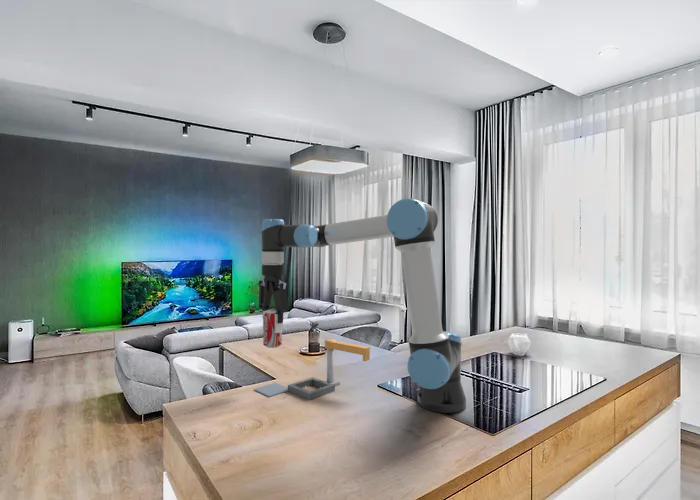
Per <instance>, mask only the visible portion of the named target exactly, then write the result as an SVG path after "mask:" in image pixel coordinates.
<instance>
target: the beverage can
mask: <svg viewBox="0 0 700 500" xmlns="http://www.w3.org/2000/svg"><path fill="white" fill-rule="evenodd" d="M275 313H276V310H271V311H266V312H265V315H264V317H263V316H262V330H263V335H262V336H263V337H262V338H263V342H262V343H263V345H264V347H265V348H268V349H269V348H271V349H274V348H275V349H276V348H279V347H280V346H281V345H282V343H283V342H282V341H283V340H282V339H283V338H282V337H283V332H280V333H275Z"/></svg>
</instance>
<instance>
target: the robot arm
mask: <svg viewBox="0 0 700 500" xmlns="http://www.w3.org/2000/svg"><path fill="white" fill-rule="evenodd" d="M438 220H439V217H438V213H437V211H436V210H435V208H434V207H433V206H432V205H430V204H429V203H426V202H423V201H422V200H420V199H417V198H413V197H412V198H402V199H398V200H397V201H396V202H394V203H393V205H392V206H391V207H390V208H389V210H388V212H387V214H385V215H384V214H383V215H379V216H373V217H365V218H359V219H353V220H347V221H340V222H333V223H327V224H322V225H321V224H320V225H312V224H305V223H303V224H285V221H284V219H281V218H280V219H279V218H265V219H263V220H262V222H261V223H262V224H261V231H260V232H261V263H262V265H261V275H262V276H264V277H263V279H261V280H258V286H259V291H258V292H259V293H258V309H260V310H261V311H262V318H263V317H264V315H265V312H266V311H272V310H271V307H270V306H271V302H272V297H273V301H274V305H275V311H276V313H275V333H280V332H282V333H283V327H284V324H283V323H284V313H287V312H288V311H289V309H288V285H289V284H288V282H284V281H283V279H282V276H284V275H285V265H284V263H285V248H302V249H304V248H305V249H306V248H323V247H328V246H333V245H340V244H341V245H342V244H348V243H357V242H362V241H363V242H365V241H371V240H377V239H378V240H379V239H386V238H393V242H394V248H395V249H396V250H397V251H399V252H400V254H401V261H402V267H403V275H404V281H405V288H406V296H407V303H408V309H409V317H410V318H409V319H410V324H411V330H412V332H411V333H412V334H411V336H410V337H409V338H408V347H409V353H410V356H409V357H408V359H407V360H408V361H407V366H406V367H407V372H408V375H409V377H410V378H411V380H412V381H413V382H414V383H415V384H417V386H419V387H420V388H419V390H418V392H417V404H418V406H420V407H422V409H425V410H427V411H430V412H434V413H439V414H440V413H442V414H453V413H459V412H462V411H464V410H466V408H467V398H466V397H467V396H466V395H465V394H466V393H465V391H464V387H463V385H462V381H461V379H462V378H461V377H462V376H461V375H462V374H461V372H462V371H461V369H462V336H461V335H460V333H459V334H458V333H456V332H451V331H444V330H443V324H442V318H441V311H440V310H441V309H440V304H439V303H440V302H439V296H438V290H437V284H436V279H435V270H434V265H433V257H432V249H431V248H432V247H433V246H434V244H435V243H436V240H435V233H434V232H435V231H436V229H437V227H438V222H439V221H438Z"/></svg>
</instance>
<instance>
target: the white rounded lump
mask: <svg viewBox="0 0 700 500" xmlns="http://www.w3.org/2000/svg"><path fill="white" fill-rule="evenodd" d="M507 344H508V346H509V348H510V350H511V351H512V353H513V355H514V356H521V357H522V356H523V357H524V356H525V354H526V351H528V350H529V348H530V346H531V340H530V338H529V336H528V334H527V333H522V332H521V333H520V332H514V333H511V334H510V335H509V337H508V338H507Z"/></svg>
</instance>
